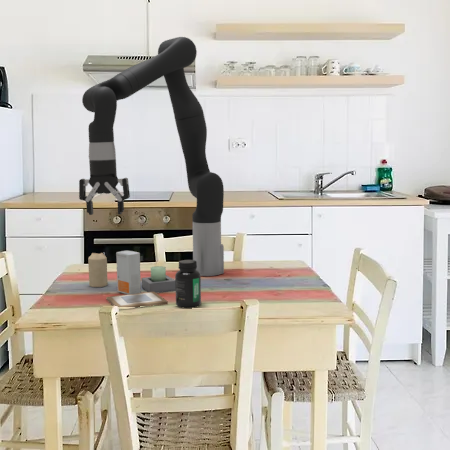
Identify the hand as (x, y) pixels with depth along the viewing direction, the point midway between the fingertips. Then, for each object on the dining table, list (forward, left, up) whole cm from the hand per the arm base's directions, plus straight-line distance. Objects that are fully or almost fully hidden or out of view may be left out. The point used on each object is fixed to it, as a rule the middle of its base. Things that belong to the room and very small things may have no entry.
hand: (105, 214), depth 194 cm
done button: (-14, +4, -21) cm, 25 cm away
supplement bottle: (-16, +25, -23) cm, 37 cm away
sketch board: (-4, +16, -23) cm, 28 cm away
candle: (+1, -8, -23) cm, 25 cm away
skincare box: (-5, +5, -23) cm, 24 cm away
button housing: (-14, +5, -23) cm, 27 cm away
